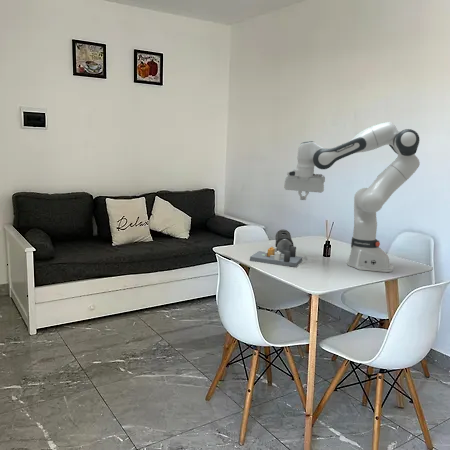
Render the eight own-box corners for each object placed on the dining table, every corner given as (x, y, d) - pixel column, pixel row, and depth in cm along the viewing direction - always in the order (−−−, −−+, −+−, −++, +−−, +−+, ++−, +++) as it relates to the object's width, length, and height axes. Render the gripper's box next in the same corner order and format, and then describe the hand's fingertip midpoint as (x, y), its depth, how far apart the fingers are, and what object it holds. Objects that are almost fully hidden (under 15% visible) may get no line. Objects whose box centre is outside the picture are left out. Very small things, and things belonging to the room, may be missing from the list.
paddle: (274, 255, 239) (274, 246, 238) (271, 256, 235) (272, 248, 234) (269, 254, 239) (270, 246, 239) (267, 256, 236) (267, 247, 235)
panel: (302, 260, 238) (303, 247, 237) (295, 267, 226) (296, 253, 224) (258, 254, 247) (259, 241, 246) (249, 260, 235) (250, 247, 233)
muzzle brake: (290, 246, 269) (291, 229, 267) (293, 257, 241) (294, 238, 239) (274, 245, 269) (275, 228, 268) (274, 256, 242) (276, 237, 240)
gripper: (326, 174, 235) (324, 201, 237) (287, 171, 242) (285, 197, 245) (324, 174, 229) (321, 202, 231) (284, 172, 237) (282, 198, 239)
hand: (303, 199), depth 238 cm, fingers closed
